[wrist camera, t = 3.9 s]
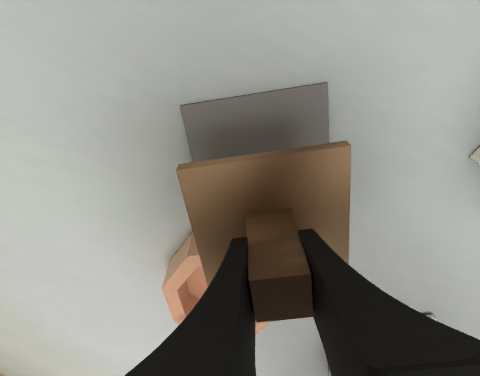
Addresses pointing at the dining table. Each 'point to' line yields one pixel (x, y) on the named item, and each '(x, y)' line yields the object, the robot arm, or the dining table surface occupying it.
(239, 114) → the mat
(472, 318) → the dining table surface
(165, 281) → the octagonal copper pot
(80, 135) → the dining table surface
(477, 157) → the milk
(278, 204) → the lid
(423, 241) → the dining table surface
